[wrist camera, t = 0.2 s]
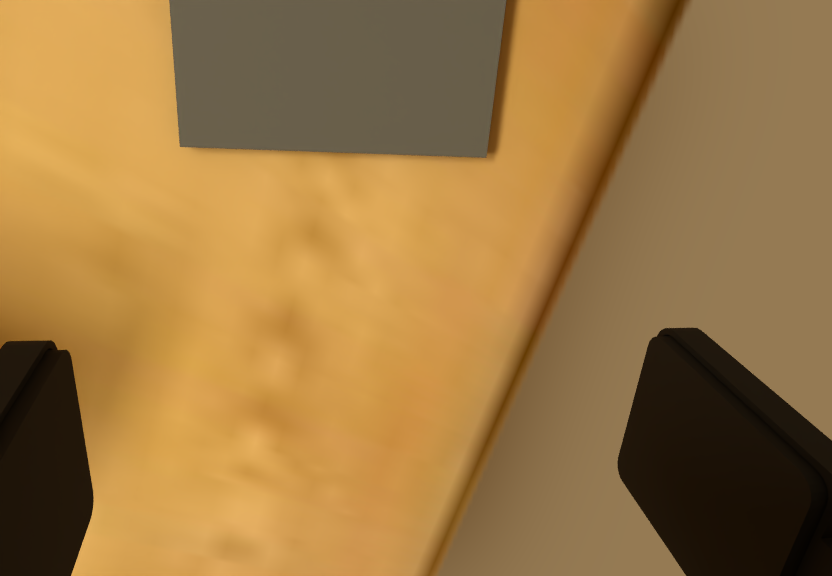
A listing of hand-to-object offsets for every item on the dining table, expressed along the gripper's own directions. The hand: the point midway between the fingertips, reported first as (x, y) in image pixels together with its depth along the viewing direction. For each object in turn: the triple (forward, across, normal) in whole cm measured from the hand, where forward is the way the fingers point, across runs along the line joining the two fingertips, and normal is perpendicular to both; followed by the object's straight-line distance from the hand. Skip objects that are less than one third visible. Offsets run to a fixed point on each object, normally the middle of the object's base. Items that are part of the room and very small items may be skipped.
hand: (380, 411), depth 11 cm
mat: (+31, -2, -3) cm, 31 cm away
